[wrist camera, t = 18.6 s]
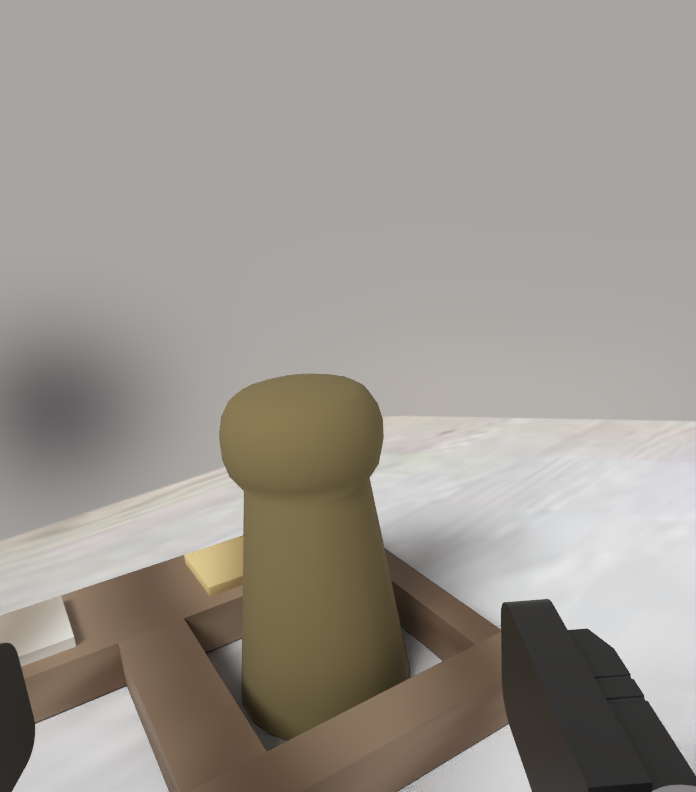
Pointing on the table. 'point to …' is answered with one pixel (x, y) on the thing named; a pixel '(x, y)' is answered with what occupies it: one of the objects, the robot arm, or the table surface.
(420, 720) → the wooden frame
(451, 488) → the table surface
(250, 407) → the olive pawn figure
